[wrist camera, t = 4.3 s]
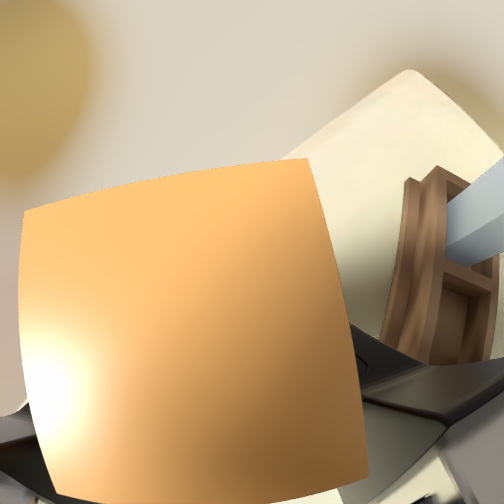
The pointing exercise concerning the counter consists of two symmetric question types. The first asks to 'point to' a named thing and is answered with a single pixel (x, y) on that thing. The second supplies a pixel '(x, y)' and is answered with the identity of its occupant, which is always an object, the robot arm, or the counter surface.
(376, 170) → the counter surface
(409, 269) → the brown wooden tray
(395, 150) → the counter surface
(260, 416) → the orange plug
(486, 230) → the grey plug
